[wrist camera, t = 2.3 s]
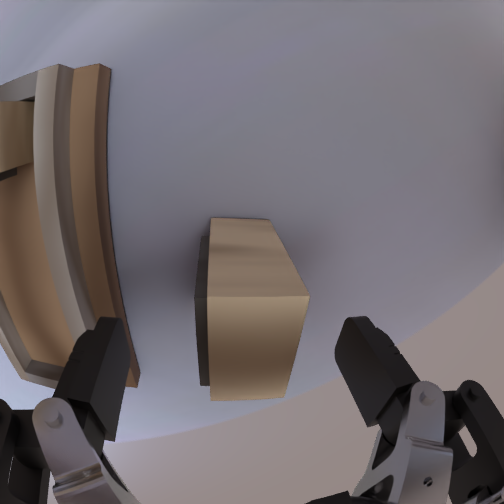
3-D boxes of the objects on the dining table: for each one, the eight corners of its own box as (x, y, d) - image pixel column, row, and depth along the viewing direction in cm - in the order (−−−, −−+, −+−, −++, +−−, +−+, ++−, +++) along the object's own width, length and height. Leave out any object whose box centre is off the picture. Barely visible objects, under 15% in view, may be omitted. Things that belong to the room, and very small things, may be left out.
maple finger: (260, 302, 16) (283, 397, 10) (203, 302, 16) (200, 400, 10) (269, 219, 14) (310, 295, 8) (203, 217, 14) (192, 296, 8)
